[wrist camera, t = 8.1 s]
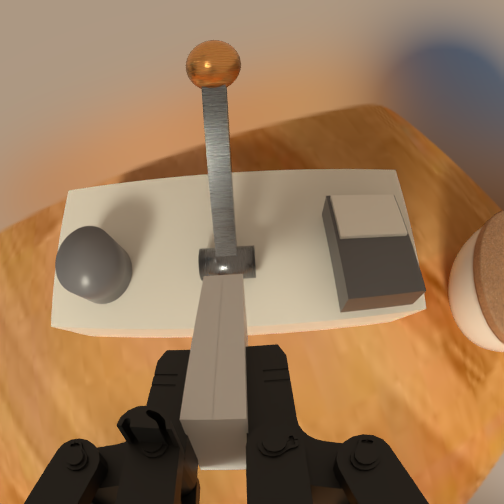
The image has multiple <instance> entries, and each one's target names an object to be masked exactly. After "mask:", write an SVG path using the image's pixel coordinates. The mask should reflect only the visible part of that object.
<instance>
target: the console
mask: <svg viewBox="0 0 504 504" xmlns="http://www.w3.org/2000/svg"><path fill="white" fill-rule="evenodd" d="M232 181H233V196H234V211H235V225H236V239H237V246H252V245H254V249H255V265H256V278H247V279H243V282H244V294H245V306H246V318H247V330H248V335H261V334H277V333H290V332H303V331H314V330H325V329H335V328H344V327H353V326H362V325H370V324H378V323H386V322H392V321H394V320H397V319H400V318H403V317H405V316H408V315H411V314H414V313H416V312H419V311H422V310H424V309H426V303H425V296H424V293H423V294H422V295H421V296H420V297H419V298H418V299H417V300H416V301H415V302H414V303H413V304H410V305H402V306H394V307H386V308H378V309H369V310H360V311H350V312H340V307H339V301H338V296H337V290H336V284H335V279H334V273H333V268H332V263H331V257H330V252H329V247H328V242H327V237H326V233H325V228H324V223H323V218H322V211H323V207H324V203H325V199H326V196H331V195H394V196H395V198H396V201H397V203H398V206H399V209H400V211H401V214H402V217H403V219H404V222H405V225H406V228H407V231H408V234H409V236H410V239H411V242H412V245H413V248H414V252H415V255H416V258H417V261H418V257H417V252H416V247H415V243H414V238H413V234H412V229H411V225H410V221H409V217H408V213H407V209H406V205H405V201H404V198H403V194H402V190H401V187H400V183H399V180H398V176H397V173H396V170H382V169H302V170H271V171H250V172H233V173H232ZM84 226H96V227H99V228H101V229H103V230H104V231H105V232H106V233H107V234H108V235H109V236H111V237H112V238H113V239H114V240H115V241H116V242H117V243H118V244H119V245H120V246H121V247H122V248H123V249H124V250H125V251H126V252H127V253H128V255H129V257H130V259H131V263H132V277H131V281H130V283H129V286H128V288H127V289H126V291H125V292H124V293H123V294H122V295H121V296H120V297H119V298H118V299H117V300H115V301H113V302H111V303H107V304H97V303H94V302H91V301H89V300H87V299H84V298H82V297H80V296H78V295H75V294H73V293H71V292H69V291H67V290H66V289H65V288H64V287H63V286H62V285H61V284H60V282H59V280H58V278H57V274H56V269H55V279H54V289H53V302H52V318H51V327H55V328H59V329H63V330H67V331H71V332H76V333H80V334H84V335H89V336H101V337H147V338H172V337H193V332H194V326H195V321H196V315H197V310H198V304H199V299H200V293H201V288H202V283H203V281H201V278H200V274H199V263H198V256H199V249H200V248H215V242H214V232H213V222H212V211H211V201H210V190H209V179H208V174H204V175H192V176H181V177H170V178H160V179H151V180H142V181H134V182H125V183H118V184H110V185H103V186H96V187H89V188H82V189H76V190H70V191H68V196H67V201H66V206H65V211H64V216H63V222H62V227H61V233H60V240H59V246H58V250H59V248H60V246H61V244H62V242H63V241H64V240H65V238H66V237H67V236H68V235H69V234H70V233H72V232H73V231H75V230H76V229H78V228H81V227H84ZM418 264H419V262H418Z"/></svg>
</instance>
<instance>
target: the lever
mask: <svg viewBox="0 0 504 504" xmlns="http://www.w3.org/2000/svg"><path fill="white" fill-rule="evenodd" d="M240 68H241V62H240V57H239V55H238V53H237V51H236V50H235V49H234V48H233V47H232V46H231V45H229V44H227V43H225V42H223V41H218V40H211V41H206V42H203V43H201V44H199V45H198V46H196V47H195V48H194V49H193V50H192V51H191V52H190V54H189V56H188V58H187V61H186V71H187V75H188V77H189V79H190V80H191V81H192V83H193V84H195V85H196V86H197V87H199V88H201V89H202V100H203V115H204V129H205V142H206V155H207V167H208V179H209V190H210V201H211V211H212V222H213V232H214V242H215V248H200V249H199V256H198V263H199V274H200V278H201V281H203V277H204V276H215V275H231V274H243V279H247V278H256V265H255V249H254V245H252V246H237V239H236V225H235V211H234V196H233V181H232V166H231V151H230V135H229V120H228V102H227V87H228V86H229V85H231V84H232V83H233V82H234V81H235V79H236V78H237V76H238V75H239V72H240Z"/></svg>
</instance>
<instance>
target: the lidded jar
mask: <svg viewBox="0 0 504 504" xmlns="http://www.w3.org/2000/svg"><path fill="white" fill-rule="evenodd" d="M448 297H449V304H450V308H451V312H452V315H453V318H454V320H455V322H456V324H457V326H458V327H459V329H460V330H461V331H462V333H463V334H464V335H465V336H466V337H467V338H468V339H469V340H470V341H472V342H473V343H474V344H476V345H478V346H480V347H482V348H484V349H488V350H492V351H496V352H504V210H503V211H500V212H498V213H496V214H495V215H494V216H493V217H491V218H490V219H489V220H488V221H487V222H486V223H485V224H484V225H483V226H482V227H481V228H480V229H478V230H477V231H476V232H475V233H474V234H473V235H472V236H471V237H470V238H469V239H468V240H467V241H466V243H465V244H464V245H463V246H462V248H461V249H460V251H459V252H458V254H457V256H456V258H455V260H454V263H453V265H452V268H451V272H450V276H449V285H448Z"/></svg>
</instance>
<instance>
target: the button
mask: <svg viewBox="0 0 504 504" xmlns="http://www.w3.org/2000/svg"><path fill="white" fill-rule="evenodd" d="M55 268H56V274H57V278H58V280H59V282H60V284H61V285H62V286H63V287H64V288H65V289H66V290H67V291H69V292H71V293H73V294H75V295H78V296H80V297H82V298H84V299H87V300H89V301H91V302H94V303H97V304H107V303H111V302H113V301H115V300H117V299H118V298H119V297H120V296H121V295H122V294H123V293H124V292H125V291H126V289H127V288H128V286H129V283H130V281H131V277H132V263H131V259H130V257H129V255H128V253H127V252H126V251H125V250H124V249H123V248H122V247H121V246H120V245H119V244H118V243H117V242H116V241H115V240H114V239H113V238H112V237H111V236H109V235H108V234H107V233H106V232H105V231H104V230H103V229H101V228H99V227H96V226H84V227H81V228H78V229H76V230H75V231H73V232H72V233H70V234H69V235H68V236H67V237H66V238H65V240H64V241H63V242H62V244H61V246H60V248H59V250H58V253H57V256H56V263H55Z"/></svg>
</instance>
